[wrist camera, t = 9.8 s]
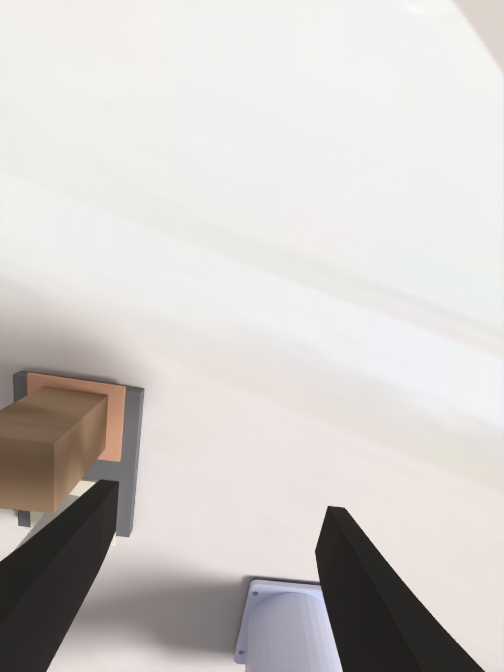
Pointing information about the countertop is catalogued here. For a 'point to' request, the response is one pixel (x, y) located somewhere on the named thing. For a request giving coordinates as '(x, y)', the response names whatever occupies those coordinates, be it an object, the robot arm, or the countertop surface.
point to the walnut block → (49, 446)
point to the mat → (120, 442)
